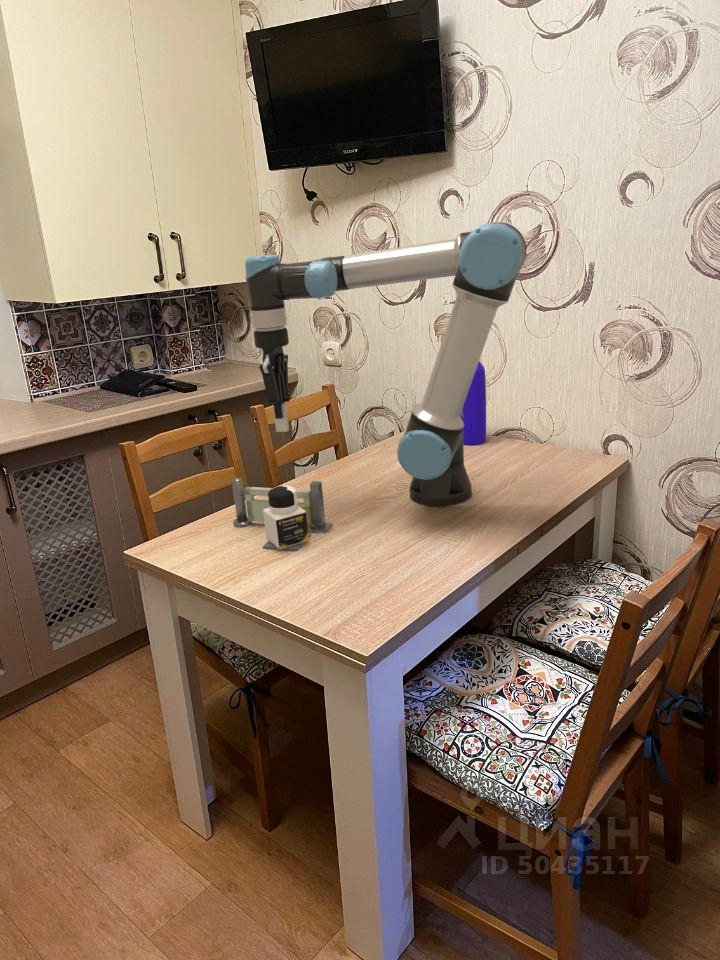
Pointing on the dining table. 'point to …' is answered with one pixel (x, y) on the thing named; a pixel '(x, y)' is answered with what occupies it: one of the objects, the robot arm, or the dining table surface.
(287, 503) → the medicine bottle
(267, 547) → the mat
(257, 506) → the gate
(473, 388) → the bottle
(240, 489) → the hinge post
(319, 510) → the post
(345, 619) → the dining table surface
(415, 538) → the dining table surface
